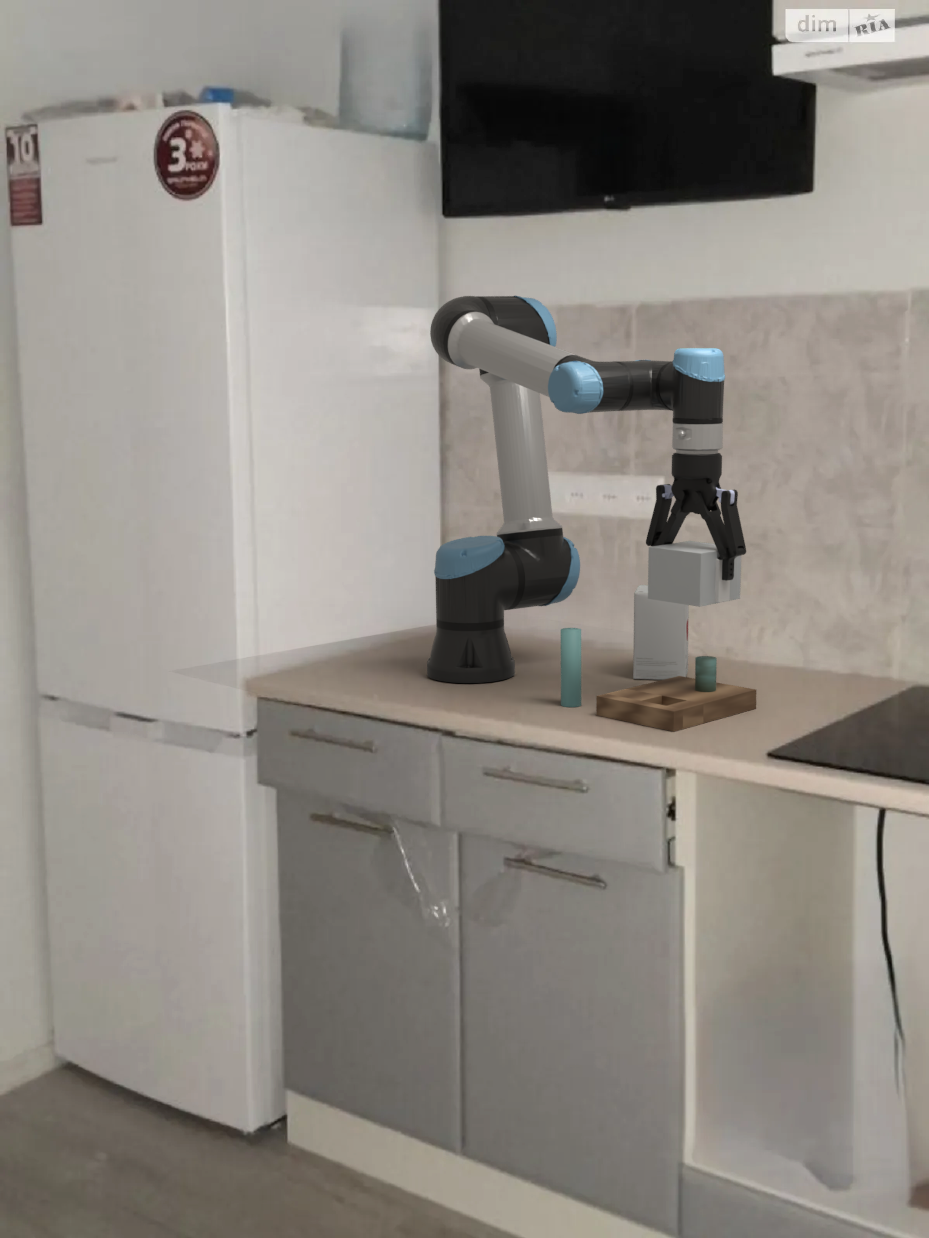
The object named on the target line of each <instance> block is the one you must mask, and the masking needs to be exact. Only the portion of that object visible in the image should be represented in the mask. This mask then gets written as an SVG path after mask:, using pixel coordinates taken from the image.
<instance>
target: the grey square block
mask: <svg viewBox="0 0 929 1238" xmlns="http://www.w3.org/2000/svg"><path fill="white" fill-rule="evenodd" d="M718 557H720V555H719V553H718V550H717V548H716V545H715V543H711V542H710V543H709V542H701V541H692V540H686V541H681V542H680V541H679V542H673V543H672V544H666V545H659V546H653V547H652V546H648V558H647V559H648V561H647V563H648V564H647V566H648V567H647V569H648V570H647V571H648V572H647V585H648V599H653V600H659V601H666V602H672V603H679V604H685V605H689V606H692V607H699V608H700V607H705V606H711V605H715V604H716V605H717V604H720V603H722V602H719V603H718V602H715V575H716V559H718ZM741 576H742V555H741V556H737V557H736V558H735V560H734V577H733V580H730V599H729V601H728V602H730V601H734V600H740V599H741V588H742V587H741V586H742V585H741V583H742V581H741V580H742V577H741ZM725 602H727V601H724V602H723V603H725Z"/></svg>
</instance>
